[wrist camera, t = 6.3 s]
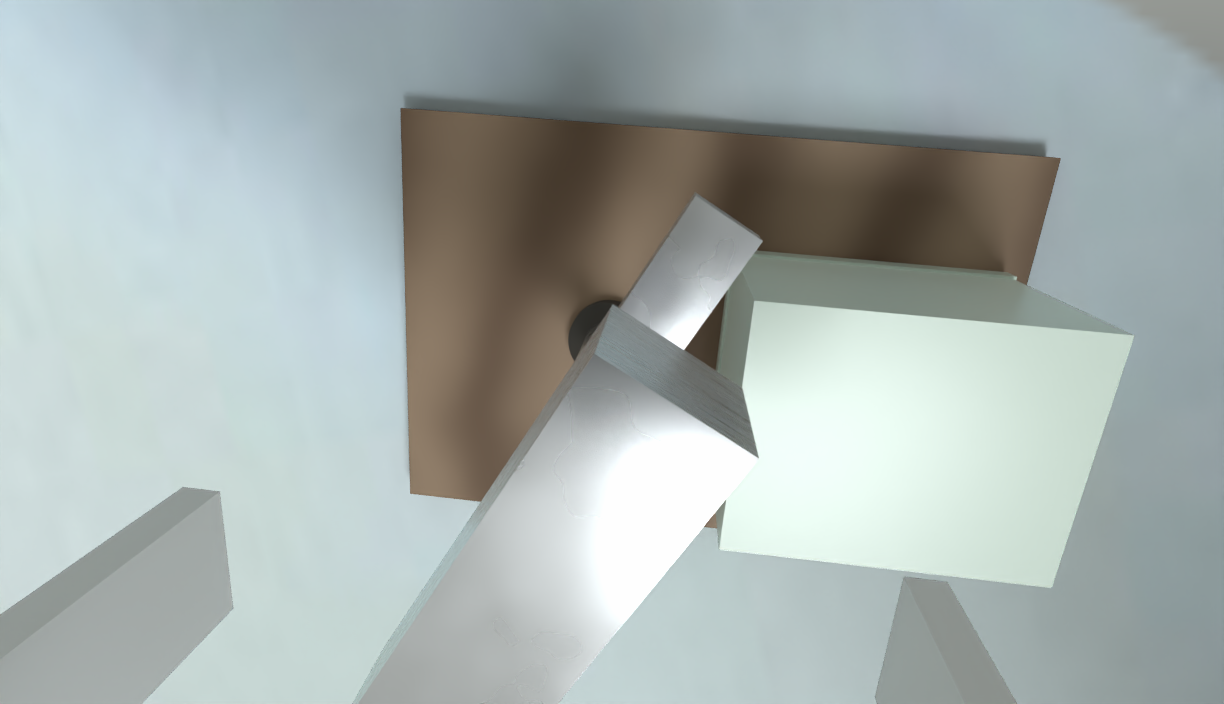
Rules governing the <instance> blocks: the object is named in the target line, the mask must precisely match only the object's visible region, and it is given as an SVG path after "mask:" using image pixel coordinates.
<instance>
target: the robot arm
mask: <svg viewBox="0 0 1224 704" xmlns="http://www.w3.org/2000/svg"><path fill="white" fill-rule="evenodd" d="M232 609H233V601H232V593H231V584H230V575H229V567H228V558H227V550H226V541H225V532H224V524H223V515H222V507H221V498H220V492H219V491H211V490H203V489H195V488H187V487H182V488H181V489H179V490H178V491H177V492H175V493H174V494H172V495H171V496H169V497H168V498H167V499H165V500H164V501H162V502H161V503H159V504H158V505H157V506H155V507H154V508H152V509H151V510H149V511H148V512H147V513H145V514H144V515H142V516H141V517H139V518H138V519H137V520H135V521H134V522H132V523H131V524H129V525H128V526H126V527H125V528H124V529H122V530H121V531H119V532H118V533H116V534H115V535H114V536H112V537H111V538H109V539H108V540H106V541H105V542H104V543H102V544H101V545H99V546H98V547H96V548H95V549H94V550H92V551H91V552H89V553H88V554H86V555H85V556H84V557H82V558H81V559H79V560H78V561H76V562H75V563H73V564H72V565H71V566H69V567H68V568H66V569H65V570H63V571H62V572H61V573H59V574H58V575H56V576H55V577H53V578H52V579H51V580H49V581H48V582H46V583H45V584H43V585H42V586H41V587H39V588H38V589H36V590H35V591H33V592H32V593H31V594H29V595H28V596H26V597H25V598H23V599H22V600H21V601H19V602H18V603H16V604H15V605H13V606H12V607H10V608H9V609H8V610H6V611H5V612H3V613H2V614H0V704H142V703H143V702H144V701H145V700H146V699H147V698H148V697H149V696H150V695H151V694H152V693H153V692H154V691H155V689H156V688H157V687H158V686H159V685H160V684H161V683H162V682H163V681H164V680H165V679H166V678H167V677H168V676H169V675H170V674H171V673H172V672H173V671H174V670H175V669H176V668H177V667H178V666H179V664H180V663H181V662H182V661H183V660H184V659H185V658H186V657H187V656H188V655H189V654H190V653H191V652H192V651H193V650H194V649H195V648H196V647H197V646H198V645H199V644H200V643H201V642H202V641H203V640H204V638H205V637H206V636H207V635H208V634H209V633H210V632H211V631H212V630H213V629H214V628H215V627H216V626H217V625H218V624H219V623H220V622H221V621H222V620H223V619H224V618H225V617H226V616H227V615H228V613H229V612H230V611H231V610H232ZM875 699H876V702H877V704H1017V702H1016V701H1015V699H1014V697H1013V696H1012V694H1011V692H1010V690H1009V689H1008V687H1007V685H1006V683H1005V682H1004V680H1003V678H1002V676H1001V675H1000V673H999V671H998V669H997V668H996V666H995V664H994V662H993V661H992V659H991V657H990V655H989V654H988V652H987V650H986V649H985V647H984V645H983V643H982V642H981V640H980V638H979V636H978V635H977V633H976V631H975V629H974V628H973V626H972V624H971V622H970V621H969V619H968V617H967V615H966V614H965V612H964V610H963V608H962V607H961V605H960V603H959V601H958V600H957V598H956V596H955V595H954V593H953V591H952V589H951V588H950V586H949V584H948V582H944V581H936V580H928V579H920V578H912V577H904V578H903V582H902V586H901V590H900V594H899V599H898V603H897V607H896V611H895V615H894V620H893V624H892V628H891V632H890V636H889V640H888V645H887V649H886V653H885V657H884V661H883V666H882V670H881V674H880V678H879V682H878V686H877V691H876V695H875Z"/></svg>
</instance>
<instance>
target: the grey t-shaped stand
mask: <svg viewBox="0 0 1224 704" xmlns="http://www.w3.org/2000/svg"><path fill="white" fill-rule="evenodd" d="M762 242H763V241H762V239H761V238H760V236H759V235H758V234H756V233H755V232H753V231H752V230H750V229H749V228H747V227H746V226H744V225H743V224H741V223H740V222H739V221H737V220H736V219H734V218H733V217H731V216H730V215H728V214H727V213H725V212H724V211H722V210H721V209H719V208H718V207H716V206H715V205H713V204H712V203H710V202H709V201H707V200H706V199H704V198H703V197H701V196H700V195H699V194H697V193H696V192H695V193H694V194H693V196H692V197H691V199H690V200H689V202H688V203H687V205H686V206H685V208H684V209H683V211H682V212H681V214H680V215H679V217H678V218H677V220H676V221H675V223H674V224H673V226H672V227H671V229H670V230H669V232H668V233H667V235H666V236H665V238H664V239H663V241H662V242H661V244H660V245H659V247H658V248H657V250H656V251H655V253H654V254H653V255H652V257H651V258H650V260H649V261H648V263H647V264H646V266H645V267H644V269H643V270H642V272H641V273H640V275H639V276H638V278H637V279H636V281H635V282H634V284H633V285H632V287H631V288H630V290H629V291H628V293H627V294H626V296H625V297H624V299H623V300H622V302H621V303H620V305H619V306H618V307H617V306H615V305H614V304H613V305H612V306H611V308H610V309H609V311H608V312H607V314H606V315H605V317H604V318H603V320H602V321H601V323H599V324H597V325H595V326H594V327H592V328H591V329H590V330H589V332H588V333H587V335H586V338H585V340H584V342H583V344H582V347H581V349H580V351H579V353H578V356H577V358H576V360H575V362H574V363H573V365H572V366H571V368H570V369H569V371H568V372H567V374H566V375H565V377H564V378H563V380H562V381H561V383H560V384H559V386H558V387H557V389H556V390H555V392H554V393H553V395H552V396H551V398H550V399H549V401H548V402H547V404H546V405H545V407H544V408H543V410H542V411H541V413H540V414H539V416H538V417H537V419H536V420H535V422H534V423H533V425H532V426H531V428H530V429H529V431H528V432H527V434H526V435H525V437H524V438H523V440H522V441H521V443H520V444H519V446H518V447H517V449H516V450H515V452H514V453H513V455H512V456H511V458H510V459H509V461H508V462H507V464H506V465H505V467H504V468H503V470H502V471H501V473H500V474H499V476H498V477H497V479H496V480H495V482H494V483H493V485H492V486H491V488H490V489H489V491H488V492H487V494H486V495H485V497H484V498H483V500H482V501H481V503H480V504H479V506H478V507H477V509H476V510H475V512H474V513H473V515H472V516H471V518H470V519H469V521H468V522H467V524H466V525H465V527H464V528H463V530H462V531H461V533H460V534H459V536H458V537H457V539H456V540H455V542H454V543H453V545H452V546H451V548H450V549H449V551H448V552H447V554H446V555H445V557H444V558H443V560H442V561H441V563H440V564H439V566H438V567H437V569H436V570H435V572H434V573H433V575H432V576H431V578H430V579H429V581H428V582H427V584H426V585H425V587H424V588H423V590H422V591H421V593H420V594H419V596H418V597H417V599H416V600H415V602H414V603H413V605H412V606H411V608H410V609H409V611H408V612H407V614H406V615H405V617H404V618H403V620H402V621H401V623H400V624H399V626H398V627H397V629H396V630H395V632H394V633H393V635H392V636H391V638H390V639H389V641H388V642H387V644H386V645H385V647H384V648H383V650H382V652H381V654H380V655H379V657H378V659H377V661H376V663H375V664H374V666H373V668H372V670H371V671H370V673H369V675H368V677H367V678H366V680H365V682H364V684H363V686H362V687H361V689H360V691H359V693H358V694H357V696H356V698H355V700H354V701H353V703H352V704H558V703H559V702H560V701H561V700H562V698H563V697H564V696H565V695H566V693H567V692H568V691H569V690H570V689H571V687H572V686H573V685H574V684H575V682H576V681H577V680H578V679H579V678H580V676H581V675H582V674H583V673H584V672H585V670H586V669H587V668H588V667H589V665H590V664H591V663H592V662H593V661H594V659H595V658H596V657H597V656H598V654H599V653H600V652H601V651H602V650H603V648H604V647H605V646H606V645H607V643H608V642H609V641H610V640H611V639H612V637H613V636H614V635H615V634H616V632H617V631H618V630H619V629H620V628H621V626H622V625H623V624H624V623H625V622H626V620H627V619H628V618H629V617H630V615H631V614H632V613H633V612H634V611H635V609H636V608H637V607H638V606H639V604H640V603H641V602H642V601H643V600H644V598H645V597H646V596H647V595H648V593H649V592H650V591H651V590H652V589H653V587H654V586H655V585H656V584H657V582H658V581H659V580H660V579H661V578H662V576H663V575H664V574H665V573H666V571H667V570H668V569H669V568H670V567H671V565H672V564H673V563H674V562H675V561H676V559H677V558H678V557H679V556H680V554H681V553H682V552H683V551H684V550H685V548H686V547H687V546H688V545H689V543H690V542H691V541H692V540H693V539H694V537H695V536H696V535H697V534H698V532H699V531H700V530H701V529H702V528H703V526H704V525H705V524H706V523H707V521H708V520H709V519H710V518H711V517H712V515H713V514H714V513H715V512H716V510H717V509H718V508H719V507H720V506H721V504H722V503H723V502H724V501H725V500H726V498H727V497H728V496H729V495H730V493H731V492H732V491H733V490H734V489H735V487H736V486H737V485H738V484H739V482H740V481H741V480H742V479H743V478H744V476H745V475H746V474H747V473H748V471H749V470H750V469H751V468H752V467H753V465H754V464H755V463H756V462H757V460H758V459H759V456H758V452H757V448H756V443H755V439H754V435H753V431H752V426H751V422H750V418H749V414H748V410H747V405H746V401H745V397H744V393H743V388H742V387H740V386H739V385H737V384H736V383H734V382H733V381H731V380H730V379H728V378H726V377H725V376H723V375H722V374H720V373H719V372H717V371H716V370H714V369H713V368H711V367H709V366H708V365H706V364H705V363H703V362H702V361H700V360H699V359H697V358H696V357H694V356H693V355H691V354H689V353H688V352H686V351H685V350H684V349H685V348H686V347H687V345H688V344H689V342H690V341H691V340H692V338H693V337H694V335H695V334H696V333H697V331H698V330H699V329H700V327H701V326H702V324H703V323H704V322H705V320H706V319H707V318H708V316H709V315H710V313H711V312H712V311H713V309H714V308H715V307H716V305H717V304H718V302H719V301H720V300H721V298H722V297H723V295H724V294H725V293H726V291H727V290H728V289H729V287H730V286H731V284H732V283H733V282H734V280H735V279H736V278H737V276H738V275H739V273H740V272H741V271H742V269H743V268H744V267H745V265H746V264H747V262H748V261H749V260H750V258H751V257H752V256H753V254H754V253H755V251H756V250H757V249H758V247H759V246H760V244H761V243H762Z"/></svg>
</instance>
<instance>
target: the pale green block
mask: <svg viewBox="0 0 1224 704" xmlns="http://www.w3.org/2000/svg"><path fill="white" fill-rule="evenodd" d="M1016 280H1017V276H1014V275H1012V274H1010V273H1008V272H998V271H987V270H975V269H964V268H952V267H941V266H929V265H917V264H906V263H894V262H883V261H871V260H860V259H848V258H837V257H825V256H814V255H802V254H791V253H779V252H768V251H755V253H754V254H753V256H752V257H751V258H750V260H749V261H748V262H747V264H746V265H745V267H744V268H743V269H742V271H741V272H740V273H739V275H738V276H737V278H736V279H735V280H734V282H733V283H732V284H731V286H730V287H729V289H728V290H727V291H726V293H725V301H724V309H723V317H722V324H721V332H720V340H719V348H718V356H717V364H716V371H717V372H719V373H720V374H722V375H723V376H725V377H726V378H728V379H730V380H731V381H733V382H734V383H736V384H737V385H739V386H740V387H742V388H743V393H744V397H745V401H746V405H747V410H748V414H749V418H750V422H751V426H752V431H753V435H754V439H755V443H756V448H757V452H758V456H759V459H758V460H757V462H756V463H755V464H754V465H753V467H752V468H751V469H750V470H749V471H748V473H747V474H746V475H745V476H744V478H743V479H742V480H741V481H740V482H739V484H738V485H737V486H736V487H735V489H734V490H733V491H732V492H731V493H730V495H729V496H728V497H727V498H726V500H725V501H724V502H723V503H722V504H721V506H720V507H719V508H718V509H717V510H716V521H717V532H718V543H719V550H726V551H735V552H743V553H752V554H761V555H769V556H778V557H787V558H795V559H804V560H813V561H821V562H830V563H839V564H847V565H856V566H865V567H873V568H882V569H891V570H899V571H908V572H917V573H925V574H934V575H943V576H951V577H960V578H969V579H977V580H986V581H995V582H1003V583H1012V584H1021V585H1029V586H1038V587H1047V588H1052V585H1053V582H1054V579H1055V576H1056V573H1057V570H1058V567H1059V564H1060V561H1061V558H1062V555H1063V552H1064V549H1065V546H1066V543H1067V540H1068V537H1069V534H1070V531H1071V528H1072V525H1073V522H1074V518H1075V515H1076V512H1077V509H1078V506H1079V503H1080V500H1081V497H1082V494H1083V491H1084V488H1085V485H1086V482H1087V479H1088V476H1089V473H1090V470H1091V467H1092V464H1093V461H1094V458H1095V455H1096V451H1097V448H1098V445H1099V442H1100V439H1101V436H1102V433H1103V430H1104V427H1105V424H1106V421H1107V418H1108V415H1109V412H1110V409H1111V406H1112V403H1113V400H1114V397H1115V394H1116V391H1117V388H1118V385H1119V381H1120V378H1121V375H1122V372H1123V369H1124V366H1125V363H1126V360H1127V357H1128V354H1129V351H1130V348H1131V345H1132V342H1133V339H1134V336H1135V335H1132V334H1130V333H1128V332H1126V331H1124V330H1122V329H1120V328H1117V327H1115V326H1113V325H1111V324H1109V323H1107V322H1104V321H1102V320H1100V319H1098V318H1096V317H1094V316H1092V315H1089V314H1087V313H1085V312H1083V311H1081V310H1079V309H1077V308H1074V307H1072V306H1070V305H1068V304H1066V303H1064V302H1061V301H1059V300H1057V299H1055V298H1053V297H1051V296H1049V295H1046V294H1044V293H1042V292H1040V291H1038V290H1036V289H1034V288H1031V287H1029V286H1027V285H1025V284H1023V283H1021V282H1018V281H1016Z"/></svg>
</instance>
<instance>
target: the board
mask: <svg viewBox="0 0 1224 704" xmlns="http://www.w3.org/2000/svg"><path fill="white" fill-rule="evenodd" d="M401 143H402V182H403V222H404V262H405V302H406V342H407V382H408V421H409V461H410V494H419V495H428V496H436V497H445V498H454V499H463V500H472V501H480V502H481V501H482V500H483V498H484V497H485V495H486V494H487V492H488V491H489V489H490V488H491V486H492V485H493V483H494V482H495V480H496V479H497V477H498V476H499V474H500V473H501V471H502V470H503V468H504V467H505V465H506V464H507V462H508V461H509V459H510V458H511V456H512V455H513V453H514V452H515V450H516V449H517V447H518V446H519V444H520V443H521V441H522V440H523V438H524V437H525V435H526V434H527V432H528V431H529V429H530V428H531V426H532V425H533V423H534V422H535V420H536V419H537V417H538V416H539V414H540V413H541V411H542V410H543V408H544V407H545V405H546V404H547V402H548V401H549V399H550V398H551V396H552V395H553V393H554V392H555V390H556V389H557V387H558V386H559V384H560V383H561V381H562V380H563V378H564V377H565V375H566V374H567V372H568V371H569V369H570V368H571V366H572V365H573V363H574V362H575V360H576V358H577V356H578V353H579V351H580V349H581V347H582V344H583V342H584V340H585V338H586V335H587V333H588V332H589V330H590V329H591V328H592V327H594V326H595V325H597V324H599V323H601V321H602V320H603V318H604V317H605V315H606V314H607V312H608V311H609V309H610V308H611V306H612V305H613V304H614V305H615V306H617V307H618V306H619V305H620V303H621V302H622V300H623V299H624V297H625V296H626V294H627V293H628V291H629V290H630V288H631V287H632V285H633V284H634V282H635V281H636V279H637V278H638V276H639V275H640V273H641V272H642V270H643V269H644V267H645V266H646V264H647V263H648V261H649V260H650V258H651V257H652V255H653V254H654V253H655V251H656V250H657V248H658V247H659V245H660V244H661V242H662V241H663V239H664V238H665V236H666V235H667V233H668V232H669V230H670V229H671V227H672V226H673V224H674V223H675V221H676V220H677V218H678V217H679V215H680V214H681V212H682V211H683V209H684V208H685V206H686V205H687V203H688V202H689V200H690V199H691V197H692V196H693V194H694V193H695V192H696V193H697V194H699V195H700V196H701V197H703V198H704V199H706V200H707V201H709V202H710V203H712V204H713V205H715V206H716V207H718V208H719V209H721V210H722V211H724V212H725V213H727V214H728V215H730V216H731V217H733V218H734V219H736V220H737V221H739V222H740V223H741V224H743V225H744V226H746V227H747V228H749V229H750V230H752V231H753V232H755V233H756V234H758V235H759V236H760V238H761V239H762V241H763V242H762V243H761V244H760V246H759V247H758V249H757V250H756V251H768V252H779V253H791V254H802V255H814V256H825V257H837V258H848V259H860V260H871V261H883V262H894V263H906V264H917V265H929V266H941V267H952V268H964V269H975V270H987V271H998V272H1008V273H1010V274H1012V275H1014V276H1017V280H1016V281H1018V282H1021V283H1023V284H1025V285H1027V282H1028V278H1029V274H1030V271H1031V267H1032V263H1033V260H1034V256H1035V252H1036V248H1037V245H1038V241H1039V237H1040V234H1041V230H1042V226H1043V222H1044V219H1045V215H1046V211H1047V208H1048V204H1049V200H1050V197H1051V193H1052V189H1053V185H1054V182H1055V178H1056V174H1057V171H1058V167H1059V163H1060V159H1061V158H1053V157H1041V156H1028V155H1014V154H1001V153H988V152H975V151H962V150H948V149H935V148H922V147H909V146H896V145H882V144H869V143H856V142H843V141H830V140H817V139H803V138H790V137H777V136H764V135H751V134H737V133H724V132H711V131H698V130H685V129H671V128H658V127H645V126H632V125H619V124H605V123H592V122H579V121H566V120H553V119H540V118H526V117H513V116H500V115H487V114H474V113H460V112H447V111H434V110H421V109H407V108H401ZM724 301H725V294H724V295H723V297H722V298H721V300H720V301H719V302H718V304H717V305H716V307H715V308H714V309H713V311H712V312H711V313H710V315H709V316H708V318H707V319H706V320H705V322H704V323H703V324H702V326H701V327H700V329H699V330H698V331H697V333H696V334H695V335H694V337H693V338H692V340H691V341H690V342H689V344H688V345H687V347H686V348H685V349H684V350H685V351H686V352H688V353H689V354H691V355H693V356H694V357H696V358H697V359H699V360H700V361H702V362H703V363H705V364H706V365H708V366H709V367H711V368H713V369H714V370H716V364H717V356H718V348H719V340H720V332H721V324H722V317H723V309H724ZM703 527H710V528H717V521H716V512H715V513H714V514H713V515H712V517H711V518H710V519H709V520H708V521H707V523H706V524H705V525H704V526H703Z"/></svg>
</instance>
